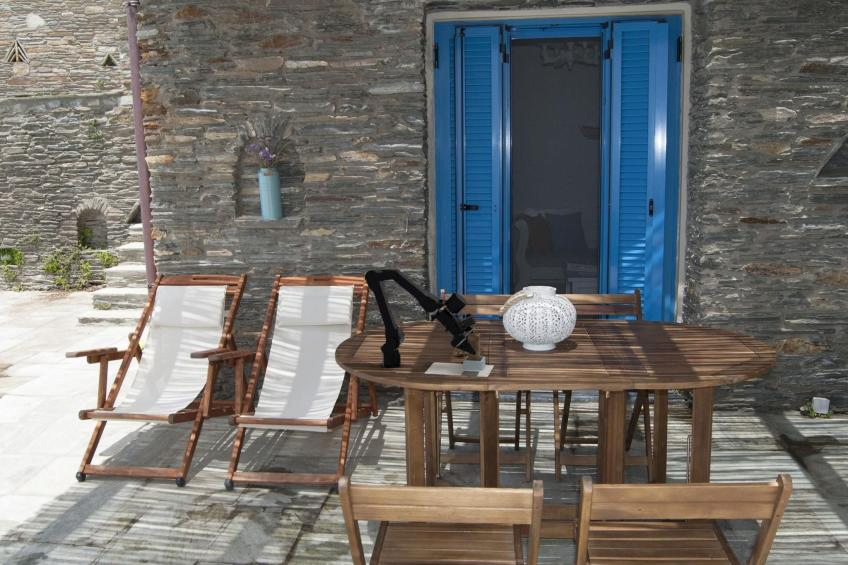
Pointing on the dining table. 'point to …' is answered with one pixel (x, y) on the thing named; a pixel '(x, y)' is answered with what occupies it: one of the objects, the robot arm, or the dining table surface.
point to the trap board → (457, 370)
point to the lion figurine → (460, 351)
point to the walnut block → (474, 346)
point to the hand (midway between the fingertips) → (477, 351)
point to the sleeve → (474, 364)
